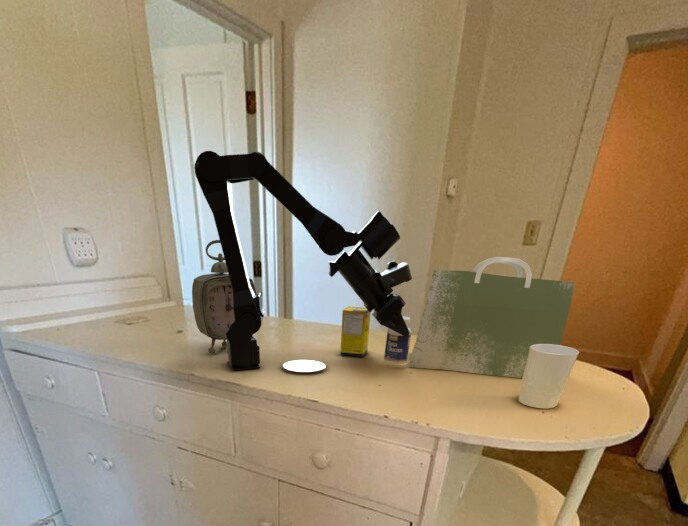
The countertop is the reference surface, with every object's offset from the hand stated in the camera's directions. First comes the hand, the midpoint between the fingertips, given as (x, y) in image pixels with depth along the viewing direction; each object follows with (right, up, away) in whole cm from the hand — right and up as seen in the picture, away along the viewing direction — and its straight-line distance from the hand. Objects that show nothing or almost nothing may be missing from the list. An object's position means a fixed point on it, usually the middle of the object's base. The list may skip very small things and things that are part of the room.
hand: (405, 332), depth 97 cm
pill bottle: (-1, -6, +4) cm, 7 cm away
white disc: (-23, -7, +2) cm, 24 cm away
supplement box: (-10, 0, +14) cm, 17 cm away
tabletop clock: (-43, +2, +16) cm, 46 cm away
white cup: (+22, -20, -15) cm, 33 cm away
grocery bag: (+19, -6, +5) cm, 20 cm away
